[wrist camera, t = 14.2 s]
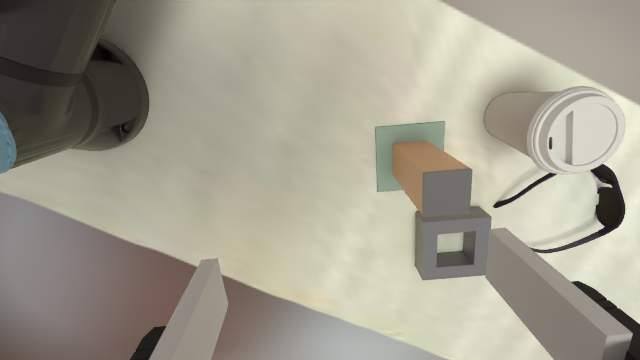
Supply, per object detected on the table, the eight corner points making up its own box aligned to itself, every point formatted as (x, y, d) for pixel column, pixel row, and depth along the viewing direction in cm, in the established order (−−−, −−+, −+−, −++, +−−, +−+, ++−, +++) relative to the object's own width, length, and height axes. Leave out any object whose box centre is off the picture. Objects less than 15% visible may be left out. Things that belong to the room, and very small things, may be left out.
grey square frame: (415, 266, 56) (422, 280, 52) (415, 211, 53) (423, 222, 49) (474, 261, 56) (486, 275, 52) (478, 206, 53) (491, 217, 49)
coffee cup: (485, 76, 47) (560, 79, 32) (549, 88, 47) (651, 96, 33) (464, 142, 50) (525, 172, 35) (525, 152, 50) (608, 186, 36)
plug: (392, 175, 51) (423, 217, 36) (392, 143, 49) (424, 173, 35) (425, 172, 51) (469, 213, 36) (426, 140, 49) (472, 169, 35)
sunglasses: (608, 211, 54) (636, 224, 49) (517, 257, 56) (535, 274, 52) (581, 141, 50) (609, 149, 45) (485, 194, 53) (502, 206, 48)
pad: (377, 191, 52) (377, 192, 51) (375, 127, 49) (375, 127, 48) (441, 185, 52) (442, 186, 51) (443, 121, 48) (444, 121, 48)
